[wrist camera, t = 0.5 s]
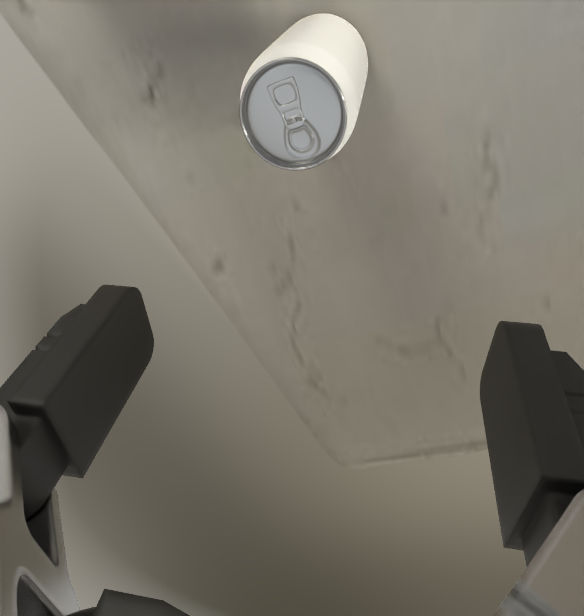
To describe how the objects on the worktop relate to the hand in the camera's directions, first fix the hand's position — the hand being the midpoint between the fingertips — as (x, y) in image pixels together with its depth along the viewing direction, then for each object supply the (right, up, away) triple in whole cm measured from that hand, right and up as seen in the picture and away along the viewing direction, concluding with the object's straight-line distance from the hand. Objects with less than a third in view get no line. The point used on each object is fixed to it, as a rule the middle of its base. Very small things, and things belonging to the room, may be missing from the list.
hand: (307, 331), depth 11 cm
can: (+2, +18, +23) cm, 29 cm away
